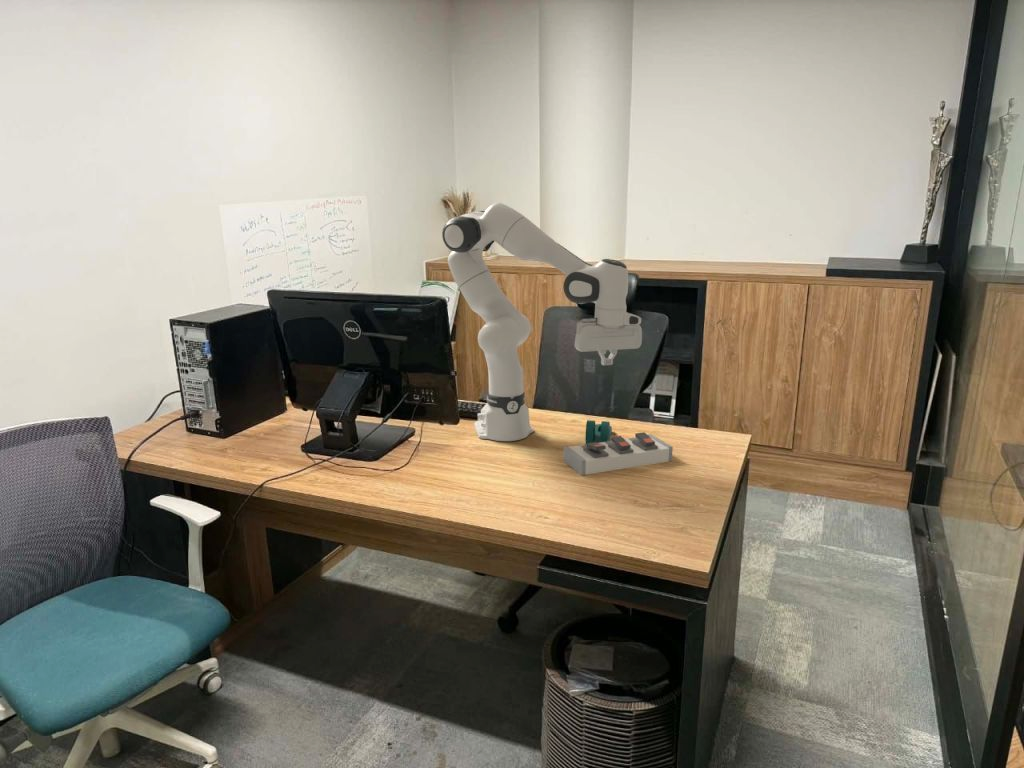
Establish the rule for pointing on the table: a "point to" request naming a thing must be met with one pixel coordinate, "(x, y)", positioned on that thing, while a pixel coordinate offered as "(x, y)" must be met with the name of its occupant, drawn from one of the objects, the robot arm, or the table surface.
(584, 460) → the power strip
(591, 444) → the rocker
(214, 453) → the table surface
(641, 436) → the rocker
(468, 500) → the table surface
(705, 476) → the table surface
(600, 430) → the bracket
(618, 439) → the rocker
